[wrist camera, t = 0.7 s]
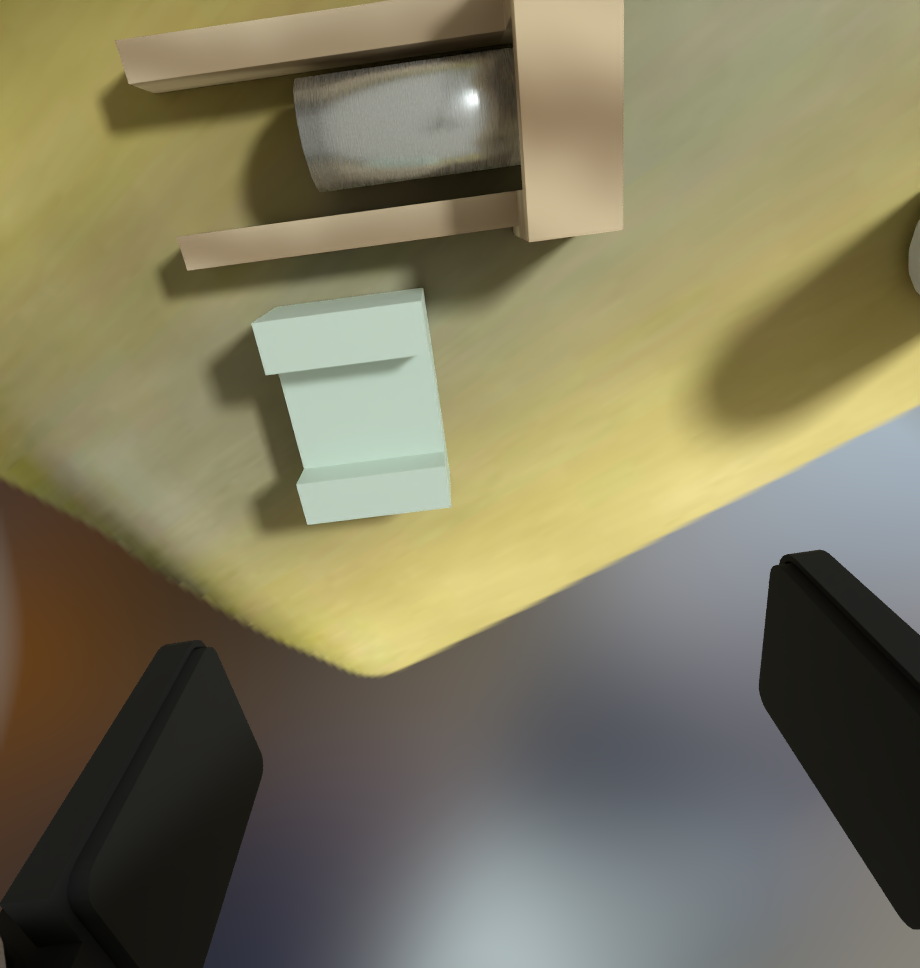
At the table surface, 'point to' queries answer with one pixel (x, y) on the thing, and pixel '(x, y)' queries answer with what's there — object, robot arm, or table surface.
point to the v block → (360, 403)
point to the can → (915, 259)
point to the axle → (409, 120)
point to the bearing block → (415, 32)
